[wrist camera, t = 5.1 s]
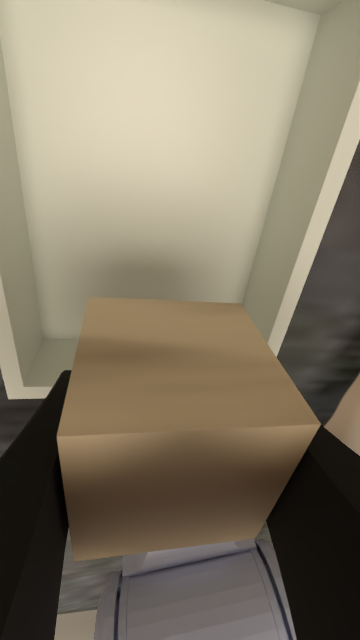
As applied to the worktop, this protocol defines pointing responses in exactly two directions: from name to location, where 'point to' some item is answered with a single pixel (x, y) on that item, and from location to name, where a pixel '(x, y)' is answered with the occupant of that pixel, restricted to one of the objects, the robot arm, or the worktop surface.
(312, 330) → the worktop surface
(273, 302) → the tote
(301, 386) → the worktop surface
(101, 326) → the beech cube
